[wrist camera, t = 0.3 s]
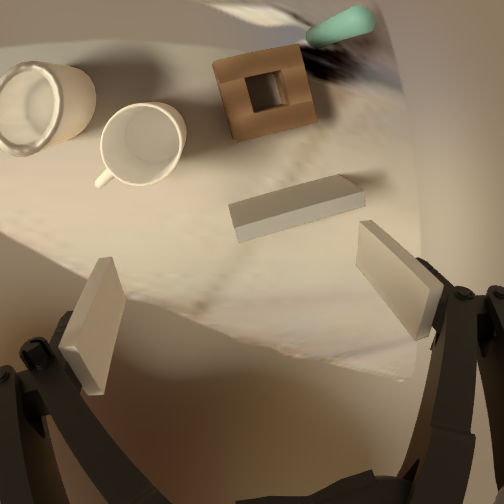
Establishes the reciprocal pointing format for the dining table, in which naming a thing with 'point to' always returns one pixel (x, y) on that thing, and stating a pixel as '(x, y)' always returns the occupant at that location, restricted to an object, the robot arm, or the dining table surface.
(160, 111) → the cup
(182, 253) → the dining table surface
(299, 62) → the block
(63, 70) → the mug
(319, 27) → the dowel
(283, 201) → the wall
